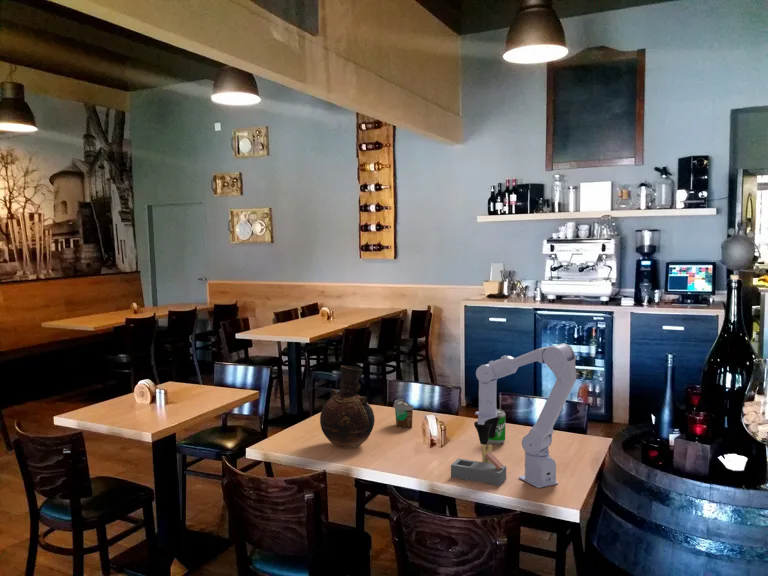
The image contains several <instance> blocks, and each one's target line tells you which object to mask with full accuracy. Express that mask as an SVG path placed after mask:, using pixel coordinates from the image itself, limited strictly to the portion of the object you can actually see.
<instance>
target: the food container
mask: <svg viewBox="0 0 768 576" xmlns="http://www.w3.org/2000/svg"><path fill="white" fill-rule="evenodd" d="M392 407H393V408H394V411H395V414H394V415H395V423H396V424H395V426H396V427H397V428H399V427H401V428H400V429H404V428H412V429H413V414H414V413H413V411H414V405H413V404H409V403H408V402H406V401H405V399H404V398H399V399H396V400H395V401H394V403H393V406H392Z"/></svg>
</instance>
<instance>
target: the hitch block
mask: <svg viewBox="0 0 768 576" xmlns="http://www.w3.org/2000/svg"><path fill="white" fill-rule="evenodd" d="M450 478H453V479H458V480H459V479H460V480H463V481H464V480H465V481H471V482H476V483H483V484H488V485H494V486H500V487H501V485H503V483H504V481H506V479H507V465H504V464H503V466H502V468H501V469H500V470H498V469H497V468H496V467H495V466H494V465H493V464H491V463H485V462H482V461H479V460H478V461H477V460H471V459H464V458H457V459H456V460H455V461H454V462H453V463H451V465H450Z"/></svg>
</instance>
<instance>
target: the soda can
mask: <svg viewBox="0 0 768 576" xmlns="http://www.w3.org/2000/svg"><path fill="white" fill-rule="evenodd" d="M496 409H497V416H500V420H499V422H498V424H497V428H496V432H495V436H494V438H488V443H487V444H491V445H502V444H503V443H504V442H505V441H506V413H505V411H504V410H502V409H500V408H496ZM501 443H502V444H501Z"/></svg>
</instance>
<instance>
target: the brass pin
mask: <svg viewBox="0 0 768 576" xmlns="http://www.w3.org/2000/svg"><path fill="white" fill-rule="evenodd" d="M481 448H482V449H481V450H482V451H481V455H482V456H481V457H482V458H481V460H482V461H481V462H485V463H491V462H490V461H489V460H488V459H487V458H486V457H485V455H486V454H487V453H488V452H489V451H490V452H491V453H492V454H493V444H490V443H487V445H484V444H481ZM491 464H492V463H491Z"/></svg>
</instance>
